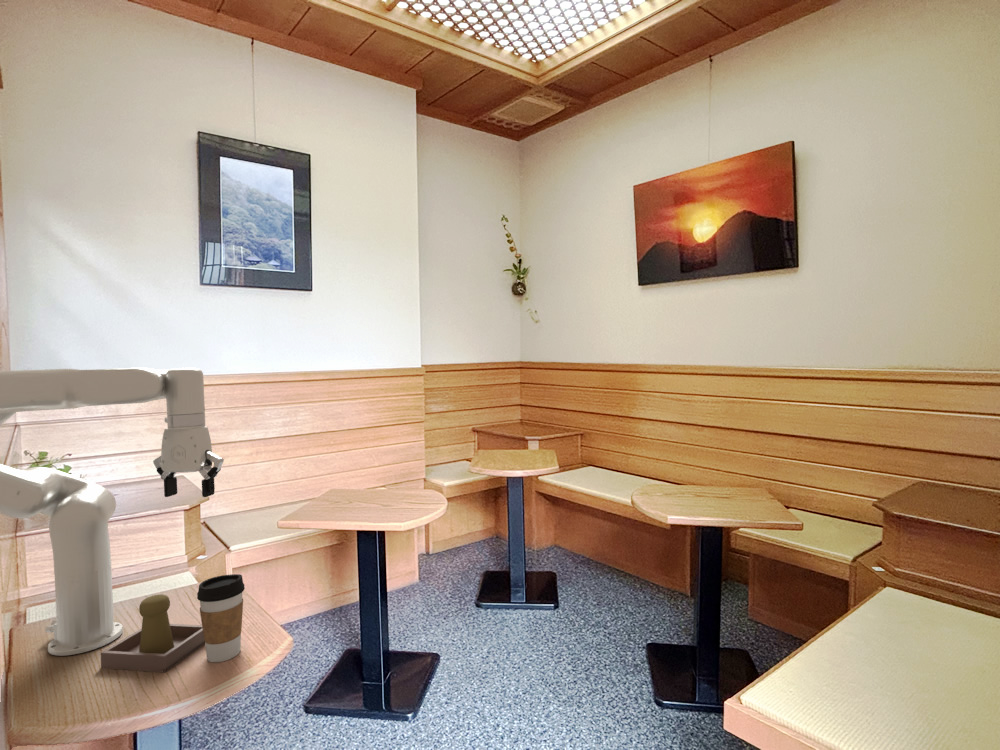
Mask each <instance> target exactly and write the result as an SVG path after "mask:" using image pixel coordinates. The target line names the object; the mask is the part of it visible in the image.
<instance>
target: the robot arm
mask: <svg viewBox="0 0 1000 750" xmlns="http://www.w3.org/2000/svg"><path fill="white" fill-rule="evenodd" d="M165 399H166V400H165ZM157 400H158V401H159V400H165V401H166V417H164V423H166V424H167V428H164V430H163V433H162V439H161V447H160V448H161V449H160V452H161V453H160V456H157V458H155V459H153V462H152V464H153V465H154V466H155V467H154V468H155V469H156V473H158V475H159V476H160V479H161V480H163V489H164V490H163V492H164V495H163V496H164V497H165V498H168V497H172V496H176V495H177V494H178V479H177V477H176V476H175V475H176V474H177V473H197V472H198V473H199V474H200V476H202V478H203V479H202V480H201V496H202V498H207V497H211V496H213V495H215V478H216V477H217V476H218V474H219V473H220V472H221V467H222V466H223V463H224V458H222V456H221V457H220V456H219V455H217V454H215V453H213V446H212V440H211V436H210V435H211V434H210V431H209V428H208V426H206V409H205V382H204V372H203V371H202V370H201V369H200V368H198V367H197V368H196V367H185V368H184V367H182V368H180V367H179V368H177V367H176V368H170V369H155V368H148V367H130V368H125V367H124V368H104V369H99V368H98V369H77V368H52V369H51V368H50V369H49V368H48V369H47V368H46V369H24V370H23V369H22V370H20V369H19V370H0V426H1V425H2V424H4V423H5V422H6V421H8V420H9V419H10V418H11V417H12V416H14V415H15V414H16V413H21V412H33V411H36V412H37V411H53V410H54V411H55V410H67V409H69V410H71V409H73V410H74V409H79V408H83V407H93V406H95V407H96V406H110V405H111V406H112V405H113V406H114V405H129V404H132V405H133V404H144V403H148V402H154V401H157ZM116 507H117V501H116V498H115V495H114V493H112V492H111V491H110V489H108V488H105V487H104V486H102V485H100V484H97V483H95V482H92V481H90V480H85V479H84V478H80V477H78V476H75V475H72V474H70V473H67V472H64V471H62V470H58V469H55V468H51V467H46V466H33V467H28V468H24V469H17V468H16V467H14V468H13V467H12V466H8V465H5V464H2V463H0V514H1V515H3V516H6V517H9V518H12V519H20V520H23V519H28V518H29V519H30V518H33V517H34V516H37V515H39V514H43V515H44V516H45V515H46V516H49V523H48V531H49V538H50V544H51V549H52V556H53V557H52V558H53V575H54V594H55V596H54V597H55V615H56V617H55V618H53V619H52V621H51V623H50V625H49V624H48V625H47V626H46V627H45V628H44V631H45V633H53V639H51V640H50V642H49V643H48V645H47V652H48V654H50V655H52V656H56V657H58V656H60V657H61V656H66V657H67V656H72V655H78V654H79V655H80V654H82V653H87V652H90V651H93V650H96V649H98V648H99V649H100V648H102V647H103V646H106V645H108V644H110V643H112V642H113V641H114V640H117V639H118V638H119V637H120V636H121V635H122V634H123V631H124V627H123V626H124V625H123V624H122V623H120V622H118V621H117V622H116V621H114V601H113V600H114V599H113V598H114V597H113V594H114V593H113V578H112V577H113V576H112V560H111V559H112V558H111V557H112V555H111V553H112V551H111V541H110V535H109V521H110V519H111V518H112V517H113V515H114V513H115V511H116Z"/></svg>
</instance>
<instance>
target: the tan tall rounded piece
mask: <svg viewBox="0 0 1000 750" xmlns="http://www.w3.org/2000/svg"><path fill="white" fill-rule="evenodd" d="M170 606H171V600H170V598H169V596H168V595H166V594H163V593H162V594H156V595H151V596H148V597H146V598H144V599H143V600H142V601H141V602H140V604H139V607H138V611H139V614H140V616H141V617H142V622H141V629H142V630H141V639H140V648H139V653H156V654H165V653H166V652H168V651H169V650H171V649H172V648H174V643H173V638H172V633H171V628H170V624H171V623H170V619H169V614H168V610H170Z"/></svg>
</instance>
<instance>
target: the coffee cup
mask: <svg viewBox="0 0 1000 750" xmlns="http://www.w3.org/2000/svg"><path fill="white" fill-rule="evenodd" d="M243 580H244V579H243V575H242V574H239V573H238V574H236V573H235V574H231V573H230V574H224V575H222V574H221V575H218V576H213V577H211V578H208V579H205V580H203V581H202V582H201V583H200V584H199V585H198V592H196V593H197V594H196V596H197V597H196V599H197V600H198V601H199V605H200V607H199V614H200V620H201V625H202V628H203V634H204V641H205V644H204V645H205V652H206V659H207V661H208V662H210V663H221V662H225V661H228V660H231V659H233V658H235V657H236V656H237V655H239V654H240V653H241V647H242V646H241V643H242V642H241V640H242V626H243V625H242V624H243V612H244V611H243V609H244V599H243V592H244V591H245V583H244V581H243Z"/></svg>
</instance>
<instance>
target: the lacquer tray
mask: <svg viewBox="0 0 1000 750" xmlns="http://www.w3.org/2000/svg"><path fill="white" fill-rule="evenodd" d="M170 628H171V633H172V638H173V643H174V648H172V649H171V650H169V651H168V652H166V653H165V654H156V653H139V648H140V639H141V630H142V628H140V629H138V630H136V631H135V632H133V633H132V634H129V635H128V636H126V637H125V638H123V639H121V640H120V641H118V642H116V643H115V644H112V645H111V646H110V647H108V648H106V649H104V650H103V651H101V652H100V668H101V669H106V670H107V669H112V670H122V671H123V670H124V671H138V672H139V671H140V672H142V671H143V672H152V673H153V672H155V673H157V672H158V673H167V671H168V672H169V670H170V669H172V668H173V667H175V666H177V665H178V664H179V663H180V662H182V661H183V660H185V659H186V658H187V657H188V656H190V655H191V654H192V653H194V652H195V651H197V650H198V649H199V648H201V647H202V646H203V645H205V641H204V634H203V628H202V624H183V623H180V624H179V623H170Z"/></svg>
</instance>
